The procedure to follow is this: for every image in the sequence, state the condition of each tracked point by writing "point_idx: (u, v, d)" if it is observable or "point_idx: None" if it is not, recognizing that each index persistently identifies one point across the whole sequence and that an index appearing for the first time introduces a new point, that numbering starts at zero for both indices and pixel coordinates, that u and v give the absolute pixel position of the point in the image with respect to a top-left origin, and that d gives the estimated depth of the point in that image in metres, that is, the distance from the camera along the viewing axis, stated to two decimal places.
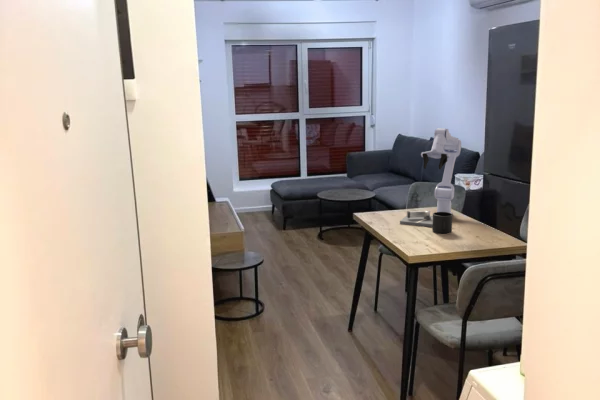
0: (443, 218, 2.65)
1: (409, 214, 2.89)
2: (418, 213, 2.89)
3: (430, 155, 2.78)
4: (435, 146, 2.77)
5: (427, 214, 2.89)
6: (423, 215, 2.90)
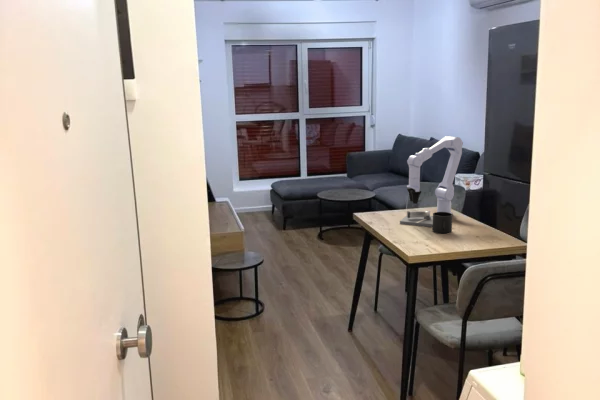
0: (443, 218, 2.65)
1: (409, 214, 2.89)
2: (418, 213, 2.89)
3: (412, 187, 2.96)
4: (409, 181, 2.93)
5: (427, 214, 2.89)
6: (423, 215, 2.90)
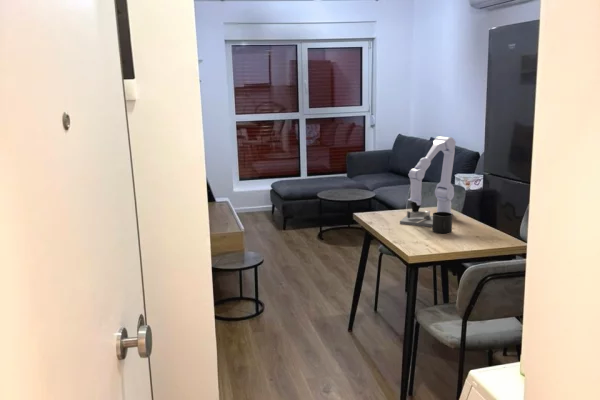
0: (443, 218, 2.66)
1: (409, 214, 2.89)
2: (418, 213, 2.89)
3: None
4: (410, 194, 2.90)
5: (427, 214, 2.89)
6: (423, 215, 2.90)
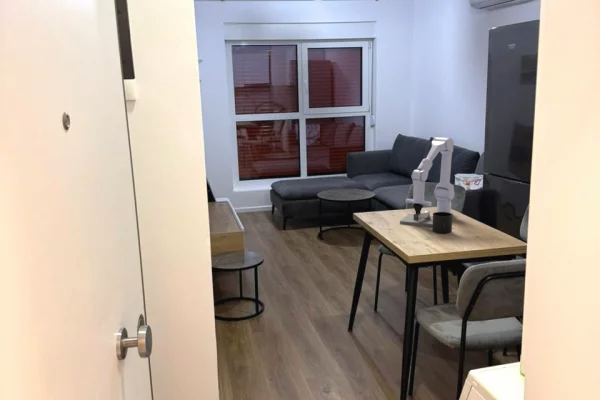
0: (443, 218, 2.65)
1: (417, 217, 2.83)
2: (423, 214, 2.86)
3: (414, 202, 2.88)
4: (415, 196, 2.84)
5: (429, 214, 2.89)
6: (426, 216, 2.88)
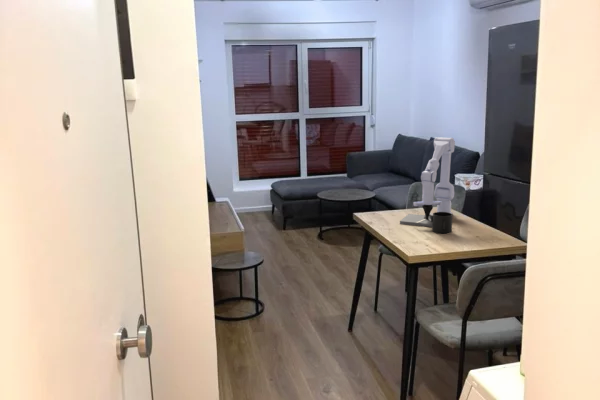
0: (443, 218, 2.66)
1: None
2: None
3: (423, 205, 2.83)
4: (429, 198, 2.80)
5: None
6: None
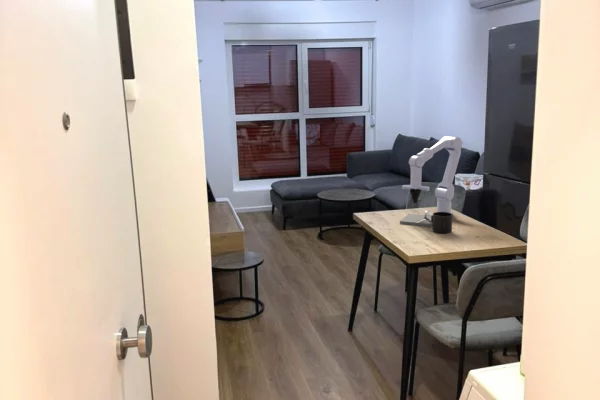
0: (443, 218, 2.66)
1: None
2: None
3: (411, 188, 2.93)
4: (413, 182, 2.89)
5: None
6: None
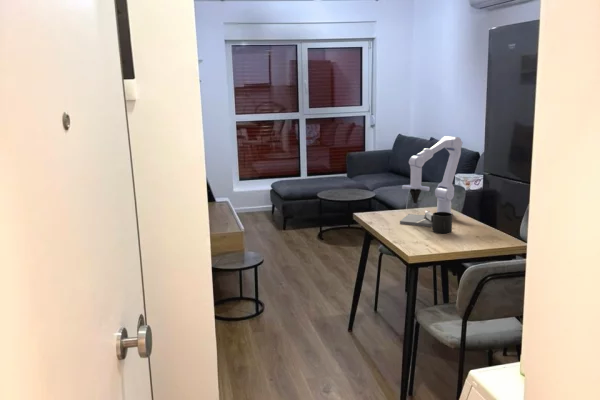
0: (443, 218, 2.66)
1: None
2: None
3: (411, 188, 2.93)
4: (413, 182, 2.89)
5: None
6: None
